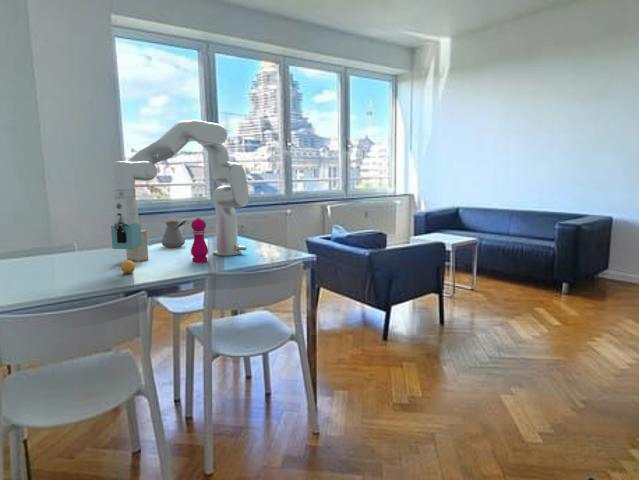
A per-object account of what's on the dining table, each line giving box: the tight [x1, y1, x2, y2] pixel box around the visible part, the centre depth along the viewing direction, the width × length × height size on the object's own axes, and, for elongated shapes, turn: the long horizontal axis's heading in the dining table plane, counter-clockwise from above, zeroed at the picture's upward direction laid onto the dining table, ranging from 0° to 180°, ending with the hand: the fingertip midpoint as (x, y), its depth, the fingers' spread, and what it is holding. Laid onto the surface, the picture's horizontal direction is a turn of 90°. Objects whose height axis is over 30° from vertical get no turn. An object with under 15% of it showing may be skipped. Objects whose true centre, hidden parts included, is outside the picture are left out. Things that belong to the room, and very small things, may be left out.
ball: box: [120, 259, 136, 274], centre depth 177 cm, size 5×5×5 cm
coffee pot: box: [161, 220, 188, 249], centre depth 229 cm, size 21×12×15 cm, turn 42°
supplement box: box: [125, 229, 149, 262], centre depth 201 cm, size 8×5×13 cm, turn 65°
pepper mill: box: [190, 215, 209, 264], centre depth 197 cm, size 7×7×20 cm
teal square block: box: [110, 222, 142, 250], centre depth 175 cm, size 8×8×9 cm
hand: (127, 240), depth 175 cm, fingers closed on teal square block, 7 cm apart
